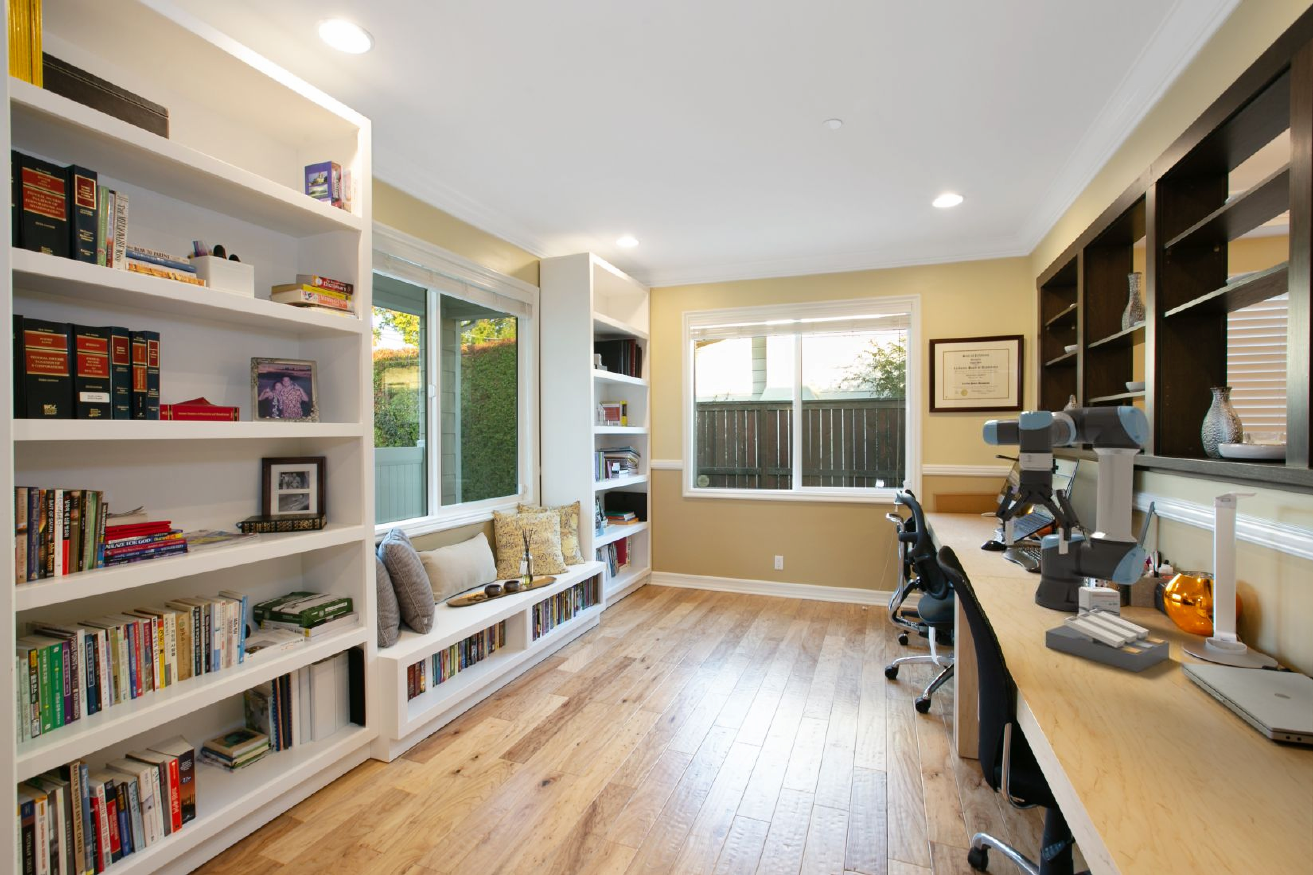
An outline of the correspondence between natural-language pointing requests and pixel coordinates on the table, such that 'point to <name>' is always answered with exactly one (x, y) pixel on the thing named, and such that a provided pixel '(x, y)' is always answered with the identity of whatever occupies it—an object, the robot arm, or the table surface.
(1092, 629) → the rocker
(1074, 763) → the table surface
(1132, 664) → the gray compartment tray
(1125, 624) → the rocker
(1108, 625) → the rocker
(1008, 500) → the robot arm
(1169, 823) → the table surface
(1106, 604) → the ink box
